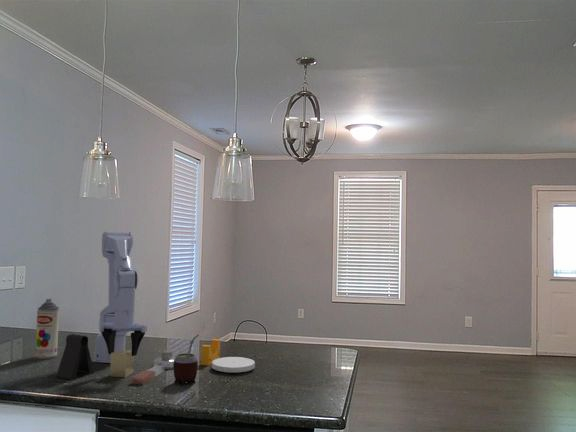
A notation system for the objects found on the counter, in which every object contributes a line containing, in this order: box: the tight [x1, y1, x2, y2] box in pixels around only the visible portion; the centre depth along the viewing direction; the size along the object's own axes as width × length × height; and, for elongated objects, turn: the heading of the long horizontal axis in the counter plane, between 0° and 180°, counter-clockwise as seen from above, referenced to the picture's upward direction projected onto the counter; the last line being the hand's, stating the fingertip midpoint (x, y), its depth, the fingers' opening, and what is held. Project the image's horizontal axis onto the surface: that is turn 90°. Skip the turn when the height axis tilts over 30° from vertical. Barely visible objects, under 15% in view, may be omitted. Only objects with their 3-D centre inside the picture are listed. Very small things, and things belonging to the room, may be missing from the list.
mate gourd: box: [172, 334, 199, 386], centre depth 146 cm, size 8×8×15 cm
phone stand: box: [55, 333, 95, 381], centre depth 151 cm, size 9×6×12 cm, turn 156°
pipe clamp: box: [200, 338, 221, 366], centre depth 173 cm, size 12×4×6 cm, turn 170°
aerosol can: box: [34, 298, 60, 360], centre depth 171 cm, size 7×7×20 cm
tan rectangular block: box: [109, 349, 135, 378], centre depth 152 cm, size 5×5×7 cm
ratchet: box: [130, 350, 176, 385], centre depth 155 cm, size 8×25×5 cm, turn 171°
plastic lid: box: [211, 356, 256, 373], centre depth 163 cm, size 14×14×2 cm
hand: (122, 354), depth 152 cm, fingers open, 7 cm apart
